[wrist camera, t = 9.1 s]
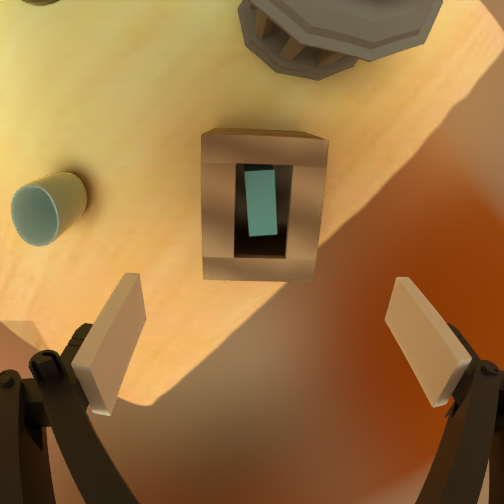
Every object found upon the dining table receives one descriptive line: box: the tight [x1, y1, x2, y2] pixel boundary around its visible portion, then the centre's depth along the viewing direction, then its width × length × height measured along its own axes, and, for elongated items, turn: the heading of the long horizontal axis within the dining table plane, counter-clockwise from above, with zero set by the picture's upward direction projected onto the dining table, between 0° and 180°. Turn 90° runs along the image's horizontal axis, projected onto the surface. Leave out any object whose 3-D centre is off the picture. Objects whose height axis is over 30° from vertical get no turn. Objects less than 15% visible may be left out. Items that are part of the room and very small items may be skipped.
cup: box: [11, 172, 87, 247], centre depth 35 cm, size 8×8×10 cm
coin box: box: [201, 129, 329, 282], centre depth 35 cm, size 14×11×12 cm
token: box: [244, 164, 277, 236], centre depth 36 cm, size 7×3×7 cm, turn 4°
